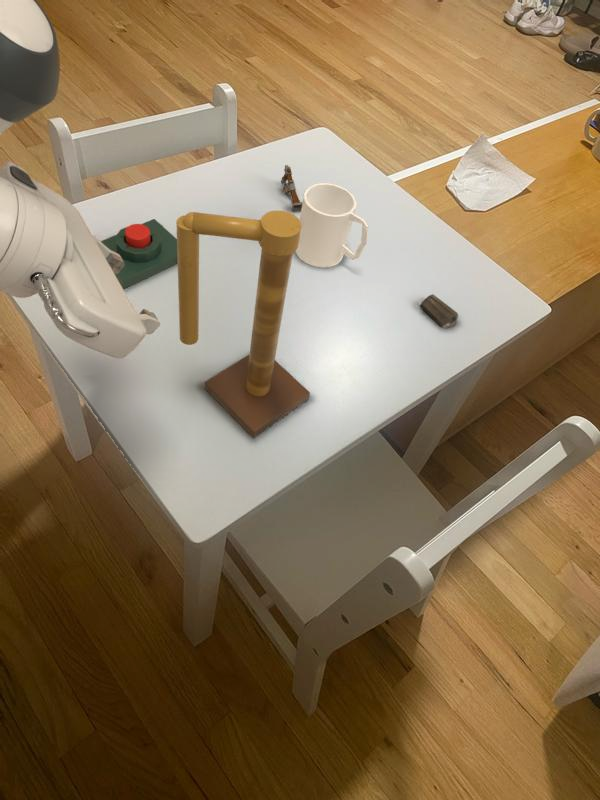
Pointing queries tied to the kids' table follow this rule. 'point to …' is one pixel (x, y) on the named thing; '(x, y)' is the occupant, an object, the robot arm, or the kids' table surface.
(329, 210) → the cup
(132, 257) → the button block
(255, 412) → the paper towel holder
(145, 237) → the red button
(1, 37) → the robot arm
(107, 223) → the kids' table surface
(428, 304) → the block
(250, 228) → the bent wooden pipe
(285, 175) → the wooden post with brackets
